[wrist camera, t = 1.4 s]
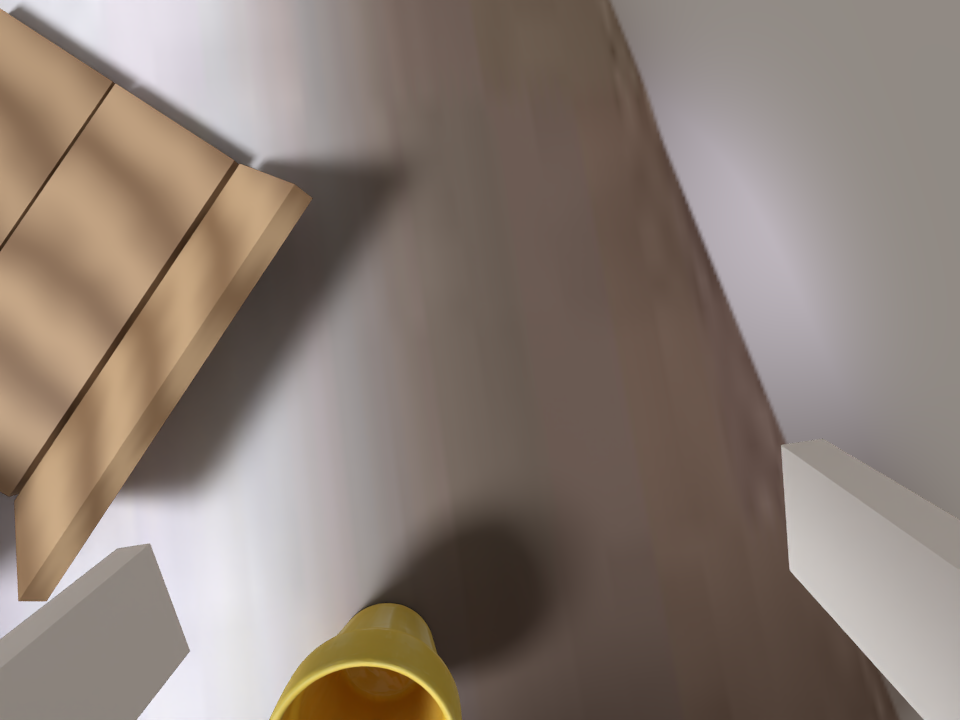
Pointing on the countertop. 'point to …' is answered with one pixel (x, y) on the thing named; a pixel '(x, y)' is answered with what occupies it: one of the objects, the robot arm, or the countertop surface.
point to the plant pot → (373, 673)
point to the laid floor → (80, 230)
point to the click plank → (149, 374)
